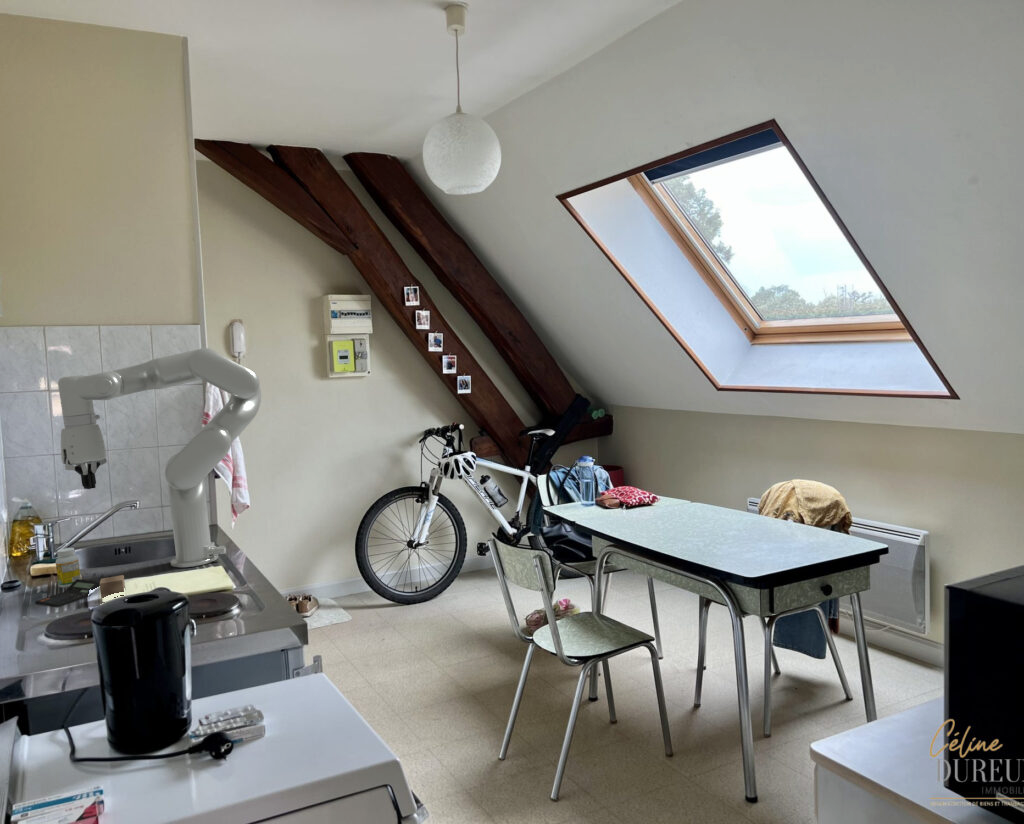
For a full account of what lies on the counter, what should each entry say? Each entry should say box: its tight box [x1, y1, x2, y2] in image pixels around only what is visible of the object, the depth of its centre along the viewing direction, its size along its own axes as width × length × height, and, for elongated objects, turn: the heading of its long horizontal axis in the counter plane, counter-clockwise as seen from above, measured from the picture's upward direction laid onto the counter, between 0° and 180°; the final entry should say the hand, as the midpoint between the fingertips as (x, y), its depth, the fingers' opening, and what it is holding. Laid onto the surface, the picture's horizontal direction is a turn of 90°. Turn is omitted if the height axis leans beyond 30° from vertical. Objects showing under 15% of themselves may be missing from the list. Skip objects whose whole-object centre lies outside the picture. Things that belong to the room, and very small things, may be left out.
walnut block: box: [99, 574, 126, 599], centre depth 196 cm, size 5×5×5 cm
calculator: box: [34, 579, 100, 608], centre depth 199 cm, size 9×12×3 cm
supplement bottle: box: [55, 547, 82, 589], centre depth 211 cm, size 5×5×10 cm
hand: (89, 488), depth 215 cm, fingers closed
